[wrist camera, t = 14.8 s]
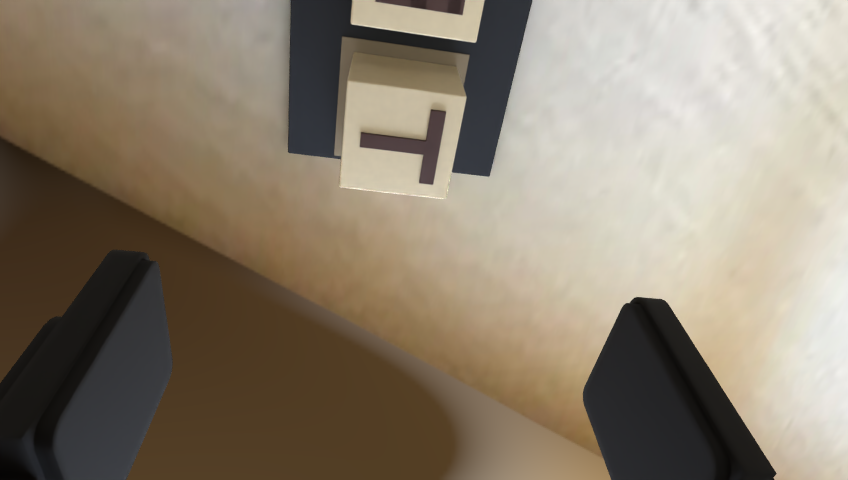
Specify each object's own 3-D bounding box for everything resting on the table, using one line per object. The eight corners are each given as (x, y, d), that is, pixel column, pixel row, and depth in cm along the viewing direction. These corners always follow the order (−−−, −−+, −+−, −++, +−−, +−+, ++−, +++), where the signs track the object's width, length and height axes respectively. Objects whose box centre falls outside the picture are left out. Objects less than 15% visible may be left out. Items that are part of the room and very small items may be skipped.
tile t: (345, 148, 26) (338, 189, 23) (353, 51, 24) (346, 80, 20) (439, 160, 27) (446, 201, 23) (457, 66, 24) (467, 97, 21)
